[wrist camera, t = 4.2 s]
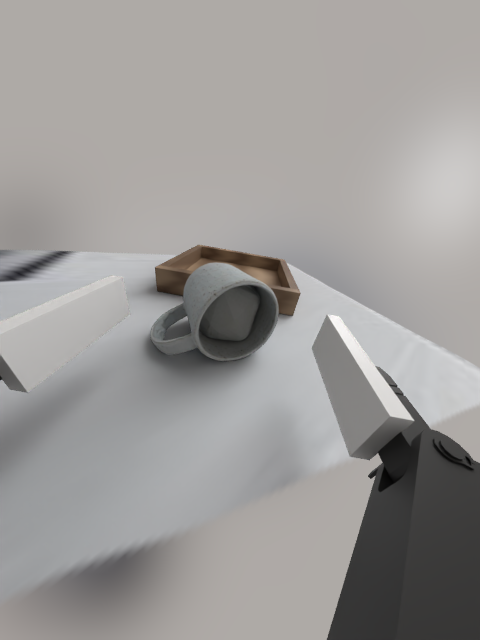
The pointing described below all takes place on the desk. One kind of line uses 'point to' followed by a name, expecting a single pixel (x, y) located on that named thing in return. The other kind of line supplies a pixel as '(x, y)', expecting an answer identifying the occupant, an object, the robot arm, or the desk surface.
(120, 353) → the desk surface
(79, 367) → the desk surface
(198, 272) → the ceramic mug
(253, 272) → the walnut tray
